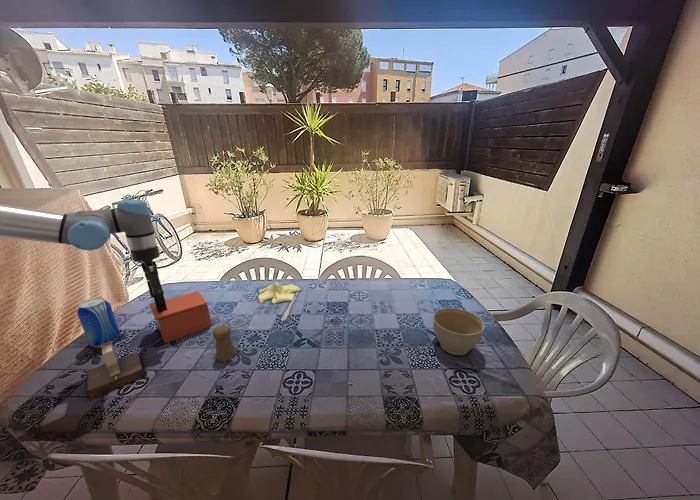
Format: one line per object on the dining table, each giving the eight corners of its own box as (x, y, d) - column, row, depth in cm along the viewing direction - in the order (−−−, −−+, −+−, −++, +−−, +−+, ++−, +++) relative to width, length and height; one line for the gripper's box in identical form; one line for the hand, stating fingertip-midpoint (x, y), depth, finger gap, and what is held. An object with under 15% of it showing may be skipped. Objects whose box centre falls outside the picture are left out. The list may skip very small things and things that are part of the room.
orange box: (164, 344, 96) (158, 320, 92) (158, 328, 104) (152, 306, 101) (211, 326, 106) (207, 304, 102) (202, 313, 114) (198, 292, 111)
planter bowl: (480, 340, 98) (485, 314, 95) (477, 369, 85) (482, 340, 81) (435, 327, 105) (438, 303, 102) (425, 352, 92) (428, 325, 88)
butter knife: (278, 320, 109) (285, 320, 108) (294, 289, 134) (300, 289, 134) (278, 321, 109) (285, 321, 109) (295, 290, 134) (300, 290, 134)
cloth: (303, 286, 137) (303, 275, 135) (292, 305, 120) (290, 292, 118) (261, 284, 140) (260, 273, 138) (244, 302, 123) (242, 290, 121)
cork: (239, 352, 92) (235, 325, 88) (225, 364, 87) (219, 335, 83) (227, 347, 94) (222, 320, 90) (212, 358, 89) (206, 330, 85)
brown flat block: (90, 399, 74) (87, 390, 73) (90, 378, 81) (87, 370, 80) (144, 376, 82) (141, 368, 81) (140, 359, 89) (137, 351, 88)
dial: (120, 372, 79) (112, 349, 76) (110, 376, 78) (101, 353, 75) (118, 362, 83) (111, 340, 80) (109, 366, 81) (101, 343, 79)
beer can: (84, 345, 95) (69, 305, 89) (112, 331, 102) (99, 294, 97) (99, 352, 92) (83, 311, 86) (126, 337, 99) (113, 298, 94)
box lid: (155, 320, 92) (150, 301, 89) (149, 305, 100) (145, 288, 98) (207, 304, 102) (204, 287, 100) (198, 292, 111) (195, 276, 109)
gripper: (164, 254, 83) (178, 313, 90) (151, 236, 101) (164, 287, 108) (134, 260, 79) (151, 322, 86) (126, 241, 96) (141, 294, 103)
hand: (158, 303), depth 97 cm, fingers open, 13 cm apart
